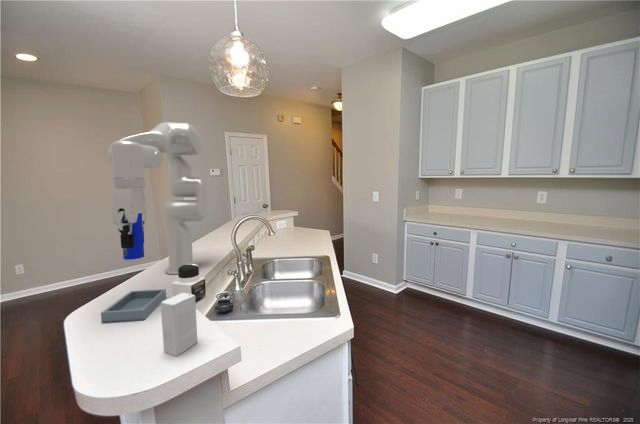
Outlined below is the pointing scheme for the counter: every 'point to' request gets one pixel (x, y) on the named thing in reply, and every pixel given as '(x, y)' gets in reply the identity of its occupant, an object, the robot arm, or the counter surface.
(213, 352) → the counter surface
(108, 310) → the tray
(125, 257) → the beverage can
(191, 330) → the skincare box
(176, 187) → the robot arm
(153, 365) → the counter surface
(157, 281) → the counter surface
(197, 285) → the medicine bottle
